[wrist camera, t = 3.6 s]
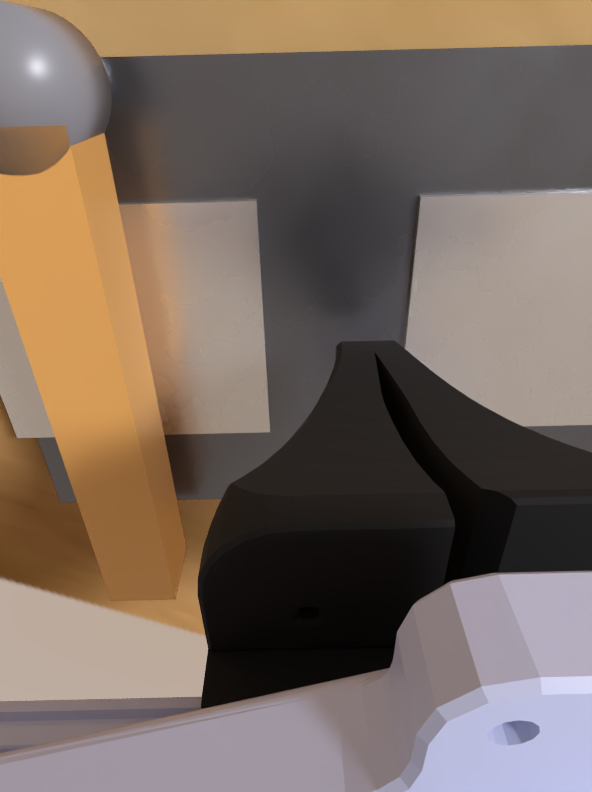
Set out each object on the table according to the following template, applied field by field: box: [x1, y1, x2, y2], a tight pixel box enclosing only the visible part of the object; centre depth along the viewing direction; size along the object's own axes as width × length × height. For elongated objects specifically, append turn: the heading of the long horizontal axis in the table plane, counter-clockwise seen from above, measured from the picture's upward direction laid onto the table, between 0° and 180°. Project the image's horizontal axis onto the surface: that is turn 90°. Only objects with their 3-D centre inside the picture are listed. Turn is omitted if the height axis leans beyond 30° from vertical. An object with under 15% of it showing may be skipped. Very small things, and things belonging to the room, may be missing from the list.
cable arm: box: [0, 0, 186, 601], centre depth 13 cm, size 15×3×2 cm, turn 1°
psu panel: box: [0, 45, 592, 502], centre depth 15 cm, size 13×24×2 cm, turn 91°
